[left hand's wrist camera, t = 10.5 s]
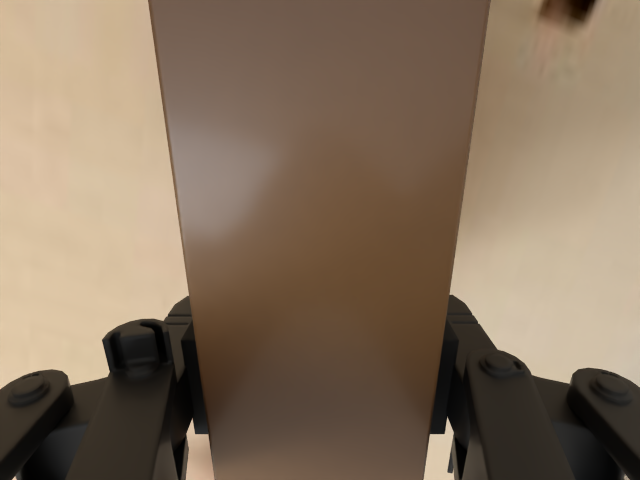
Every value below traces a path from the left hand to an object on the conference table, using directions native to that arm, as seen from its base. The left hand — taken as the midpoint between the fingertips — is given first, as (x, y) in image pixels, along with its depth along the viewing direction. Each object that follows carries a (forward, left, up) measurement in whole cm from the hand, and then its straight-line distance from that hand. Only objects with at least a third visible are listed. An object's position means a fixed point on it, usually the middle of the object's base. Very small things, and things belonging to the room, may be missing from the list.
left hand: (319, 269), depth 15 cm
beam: (+17, -12, -1) cm, 21 cm away
